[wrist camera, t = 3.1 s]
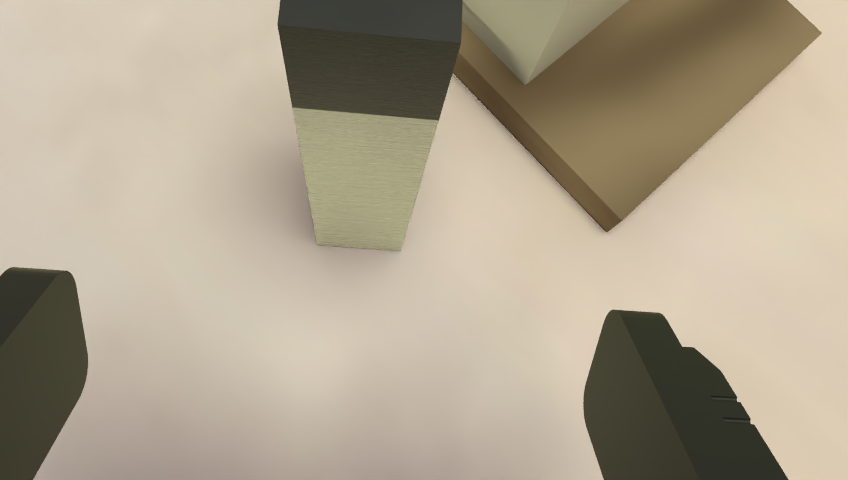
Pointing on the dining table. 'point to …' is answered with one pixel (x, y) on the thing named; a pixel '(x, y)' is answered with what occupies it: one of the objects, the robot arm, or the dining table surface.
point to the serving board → (638, 92)
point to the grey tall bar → (367, 107)
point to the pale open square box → (534, 29)
